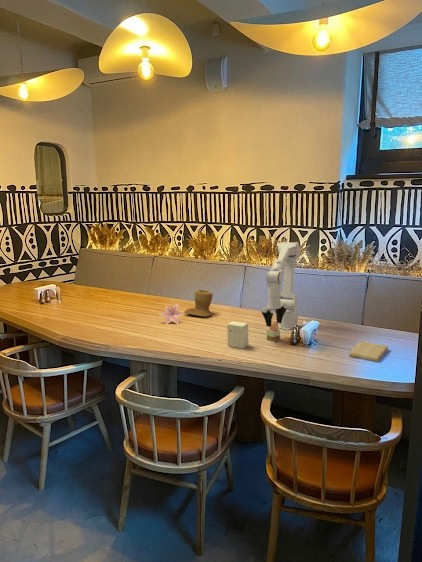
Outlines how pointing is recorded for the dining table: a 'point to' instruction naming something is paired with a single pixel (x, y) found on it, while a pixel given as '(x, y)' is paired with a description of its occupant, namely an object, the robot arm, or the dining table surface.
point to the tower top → (273, 333)
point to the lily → (171, 314)
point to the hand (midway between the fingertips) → (273, 324)
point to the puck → (274, 326)
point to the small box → (237, 334)
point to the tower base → (273, 338)
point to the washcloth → (368, 351)
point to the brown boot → (201, 304)
